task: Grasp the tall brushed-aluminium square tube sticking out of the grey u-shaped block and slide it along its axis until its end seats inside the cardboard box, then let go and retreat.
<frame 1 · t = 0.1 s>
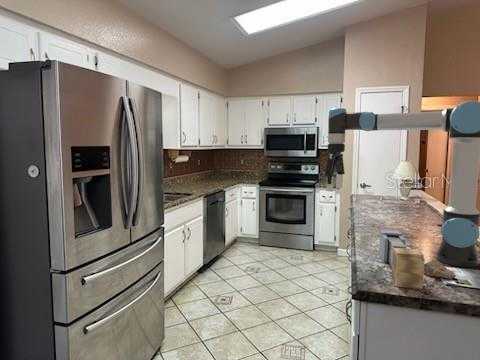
hand: (334, 189, 153), 28 cm above the counter, fingers open, 13 cm apart
rock: (437, 275, 125), on the counter
tube: (394, 250, 138), point 5 cm above the counter, slide at 0.0 cm
cardboard box: (406, 282, 118), on the counter
grey u-shaped block: (391, 258, 142), on the counter
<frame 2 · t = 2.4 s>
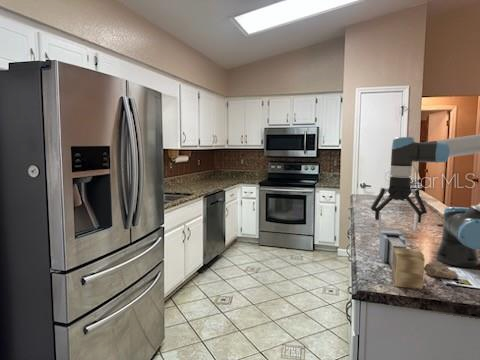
hand: (396, 229, 133), 15 cm above the counter, fingers open, 13 cm apart
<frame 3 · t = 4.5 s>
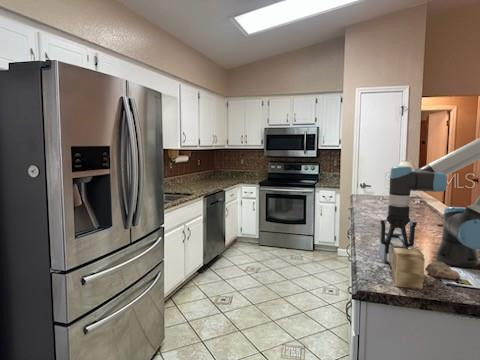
hand: (395, 261, 135), 2 cm above the counter, fingers closed on tube, 4 cm apart
tube: (394, 250, 138), point 5 cm above the counter, slide at 0.0 cm, touching gripper
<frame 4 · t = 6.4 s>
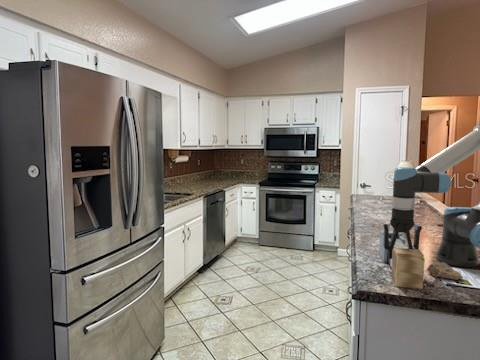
hand: (399, 267, 128), 2 cm above the counter, fingers closed on tube, 5 cm apart
tube: (397, 255, 131), point 5 cm above the counter, slide at 6.6 cm, touching gripper
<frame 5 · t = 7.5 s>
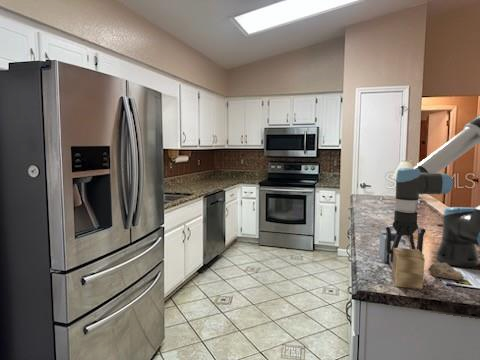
hand: (402, 271, 124), 2 cm above the counter, fingers closed on tube, 4 cm apart
tube: (400, 259, 127), point 5 cm above the counter, slide at 11.0 cm, touching gripper
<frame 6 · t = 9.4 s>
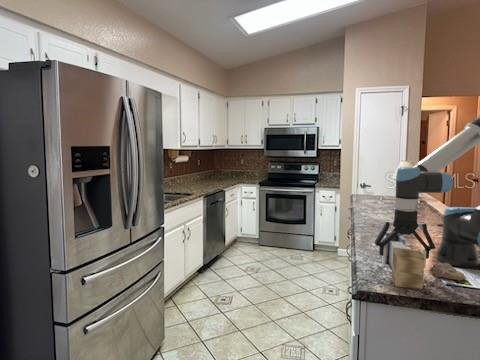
hand: (403, 265, 124), 4 cm above the counter, fingers open, 13 cm apart
tube: (400, 259, 127), point 5 cm above the counter, slide at 11.1 cm
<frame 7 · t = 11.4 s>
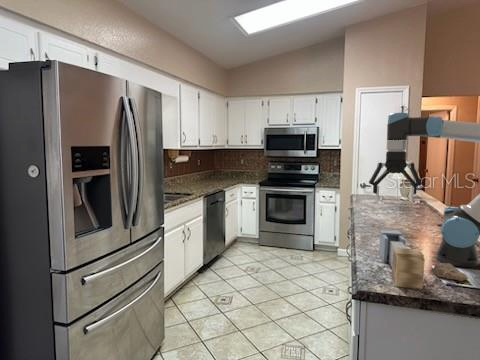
hand: (393, 201, 140), 25 cm above the counter, fingers open, 13 cm apart
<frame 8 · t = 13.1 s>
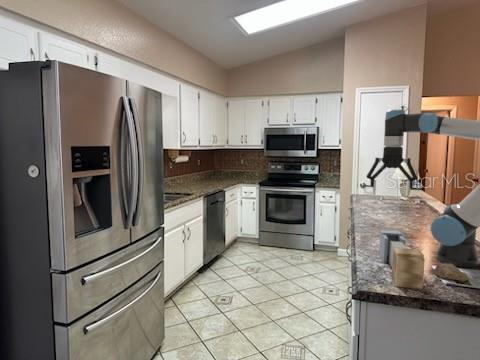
hand: (390, 195, 145), 27 cm above the counter, fingers open, 13 cm apart
at the end: tube slide at 11.1 cm; the gripper is holding nothing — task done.
